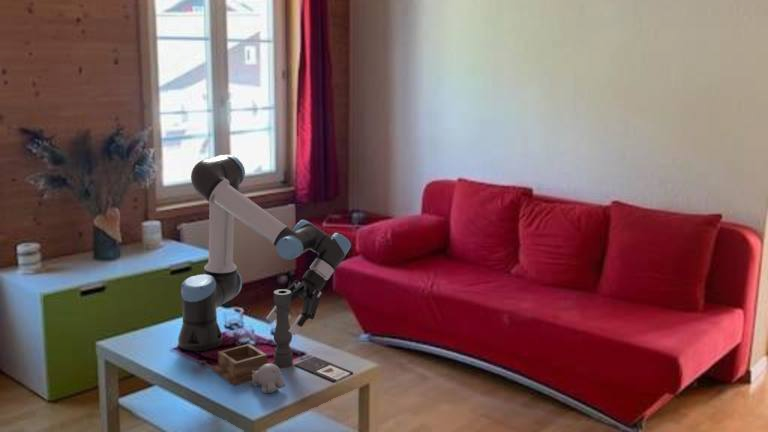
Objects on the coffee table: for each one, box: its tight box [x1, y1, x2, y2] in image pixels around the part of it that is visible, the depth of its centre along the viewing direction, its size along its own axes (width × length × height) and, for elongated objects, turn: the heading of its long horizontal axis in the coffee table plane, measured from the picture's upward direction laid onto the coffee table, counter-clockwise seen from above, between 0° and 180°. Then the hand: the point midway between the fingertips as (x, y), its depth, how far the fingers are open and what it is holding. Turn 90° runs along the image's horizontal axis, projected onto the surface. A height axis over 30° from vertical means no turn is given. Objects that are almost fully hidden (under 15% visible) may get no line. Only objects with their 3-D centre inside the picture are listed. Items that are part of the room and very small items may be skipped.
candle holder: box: [273, 288, 293, 368], centre depth 254 cm, size 6×6×25 cm
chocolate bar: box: [294, 356, 354, 383], centre depth 253 cm, size 9×1×18 cm
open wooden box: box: [212, 343, 268, 386], centre depth 249 cm, size 14×14×6 cm
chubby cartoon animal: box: [251, 362, 286, 394], centre depth 238 cm, size 7×12×8 cm, turn 48°
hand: (279, 327), depth 253 cm, fingers open, 13 cm apart
